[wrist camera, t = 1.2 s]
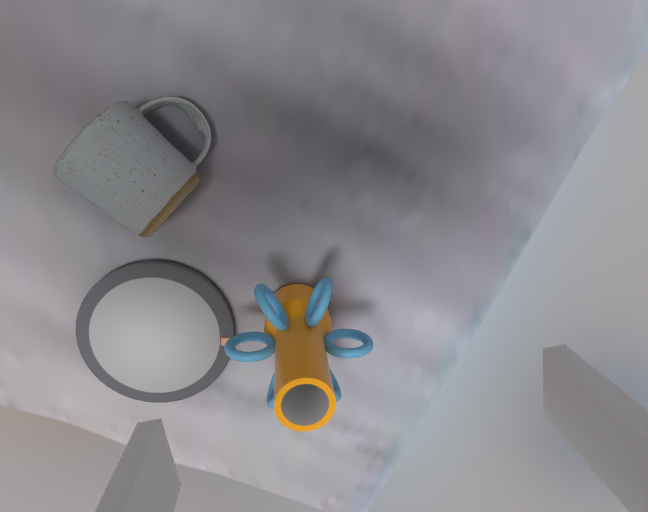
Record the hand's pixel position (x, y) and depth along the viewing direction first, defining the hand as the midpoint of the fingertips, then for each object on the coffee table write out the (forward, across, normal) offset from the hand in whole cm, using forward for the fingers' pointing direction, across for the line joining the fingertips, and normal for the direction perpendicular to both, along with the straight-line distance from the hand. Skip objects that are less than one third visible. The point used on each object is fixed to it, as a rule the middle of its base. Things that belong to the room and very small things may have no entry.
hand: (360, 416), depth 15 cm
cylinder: (+28, -3, -8) cm, 29 cm away
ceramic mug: (+28, -12, +9) cm, 31 cm away
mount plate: (+27, -16, -7) cm, 32 cm away
